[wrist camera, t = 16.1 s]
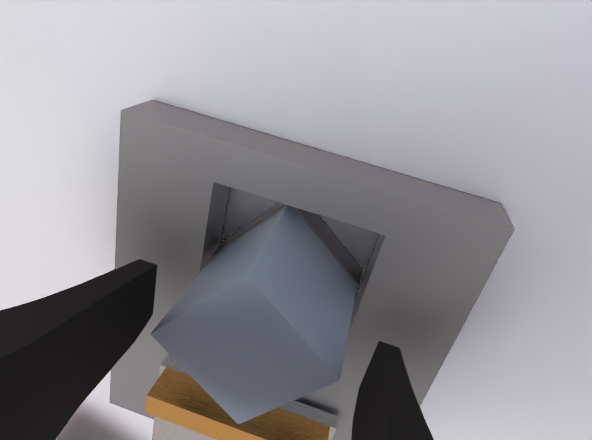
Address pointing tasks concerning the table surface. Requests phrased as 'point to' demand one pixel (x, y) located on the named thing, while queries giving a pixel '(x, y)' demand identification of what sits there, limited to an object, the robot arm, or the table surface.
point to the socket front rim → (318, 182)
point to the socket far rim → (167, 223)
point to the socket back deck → (150, 354)
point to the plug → (266, 314)
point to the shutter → (225, 414)
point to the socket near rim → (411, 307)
